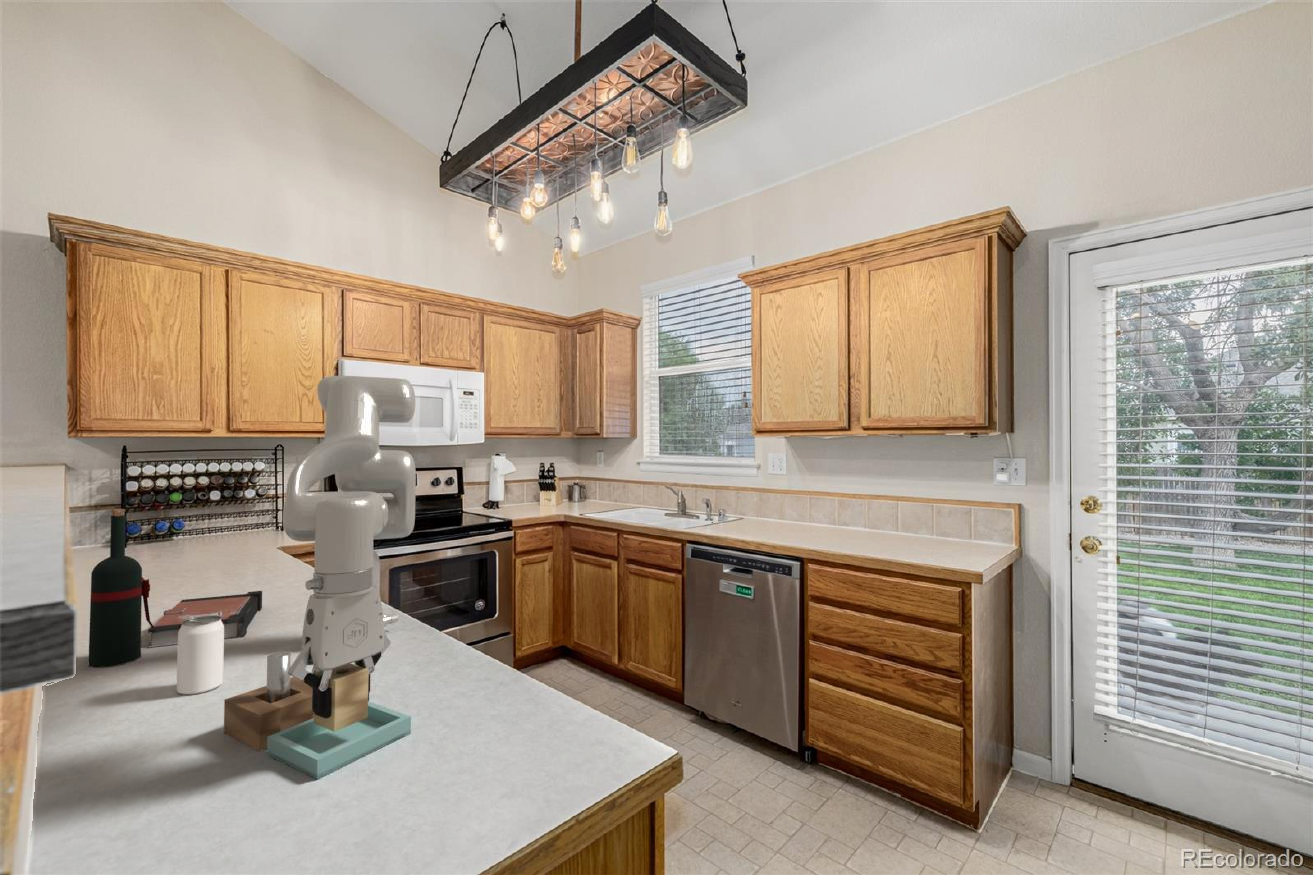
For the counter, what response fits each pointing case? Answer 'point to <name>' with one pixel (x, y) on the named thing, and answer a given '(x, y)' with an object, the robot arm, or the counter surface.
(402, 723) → the tray
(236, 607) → the book
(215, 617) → the can
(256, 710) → the bore block
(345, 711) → the oak block
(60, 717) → the counter surface
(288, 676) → the cylinder
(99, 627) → the wine bottle
